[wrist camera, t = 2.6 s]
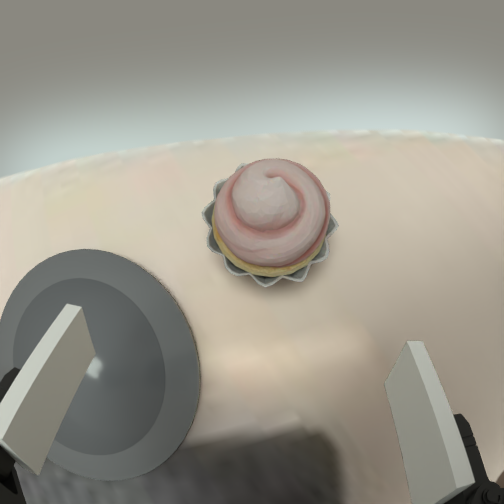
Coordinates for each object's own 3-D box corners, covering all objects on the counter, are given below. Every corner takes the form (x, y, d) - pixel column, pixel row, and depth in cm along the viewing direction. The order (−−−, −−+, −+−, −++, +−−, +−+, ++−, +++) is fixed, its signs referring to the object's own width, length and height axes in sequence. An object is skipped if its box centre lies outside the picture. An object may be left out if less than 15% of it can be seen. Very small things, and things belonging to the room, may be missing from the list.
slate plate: (239, 307, 25) (238, 305, 24) (155, 511, 20) (151, 518, 19) (47, 222, 27) (41, 218, 25) (-13, 400, 22) (-21, 401, 20)
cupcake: (342, 226, 27) (386, 169, 17) (282, 319, 25) (305, 305, 15) (252, 169, 28) (255, 92, 19) (186, 252, 26) (154, 201, 17)
